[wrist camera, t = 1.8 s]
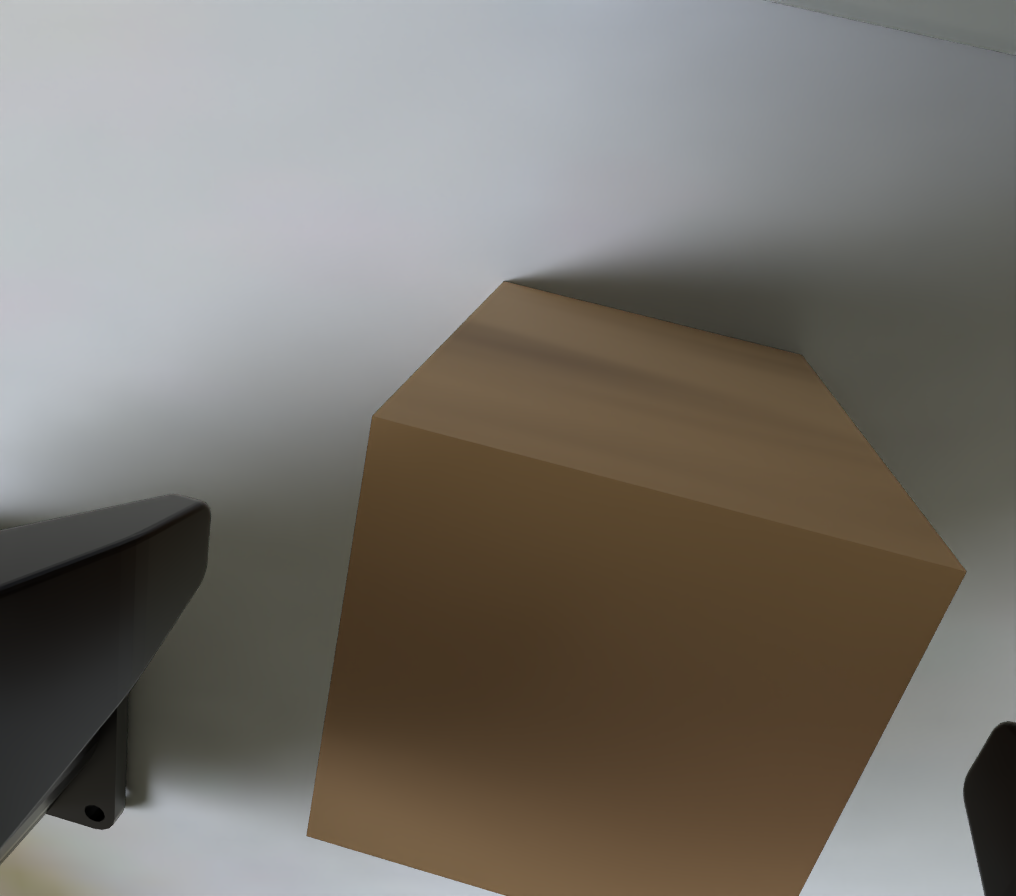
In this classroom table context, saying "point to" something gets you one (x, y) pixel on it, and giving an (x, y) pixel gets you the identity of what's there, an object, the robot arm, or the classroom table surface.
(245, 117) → the classroom table surface
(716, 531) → the tan wooden block
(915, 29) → the bin
